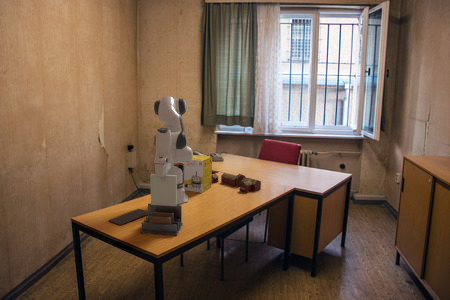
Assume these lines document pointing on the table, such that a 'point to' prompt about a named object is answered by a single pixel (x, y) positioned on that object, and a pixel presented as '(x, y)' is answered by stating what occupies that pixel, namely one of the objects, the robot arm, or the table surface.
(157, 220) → the offcut front
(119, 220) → the smartphone
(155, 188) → the white thin panel
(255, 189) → the toy houses
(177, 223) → the rack
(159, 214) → the block
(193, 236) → the table surface
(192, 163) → the packaging box
